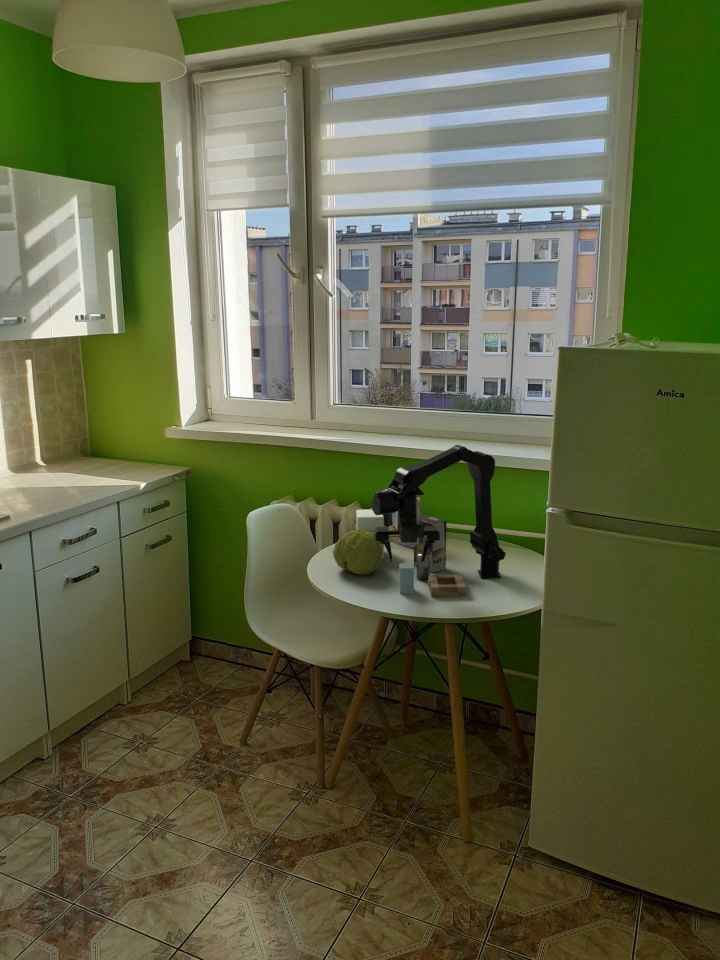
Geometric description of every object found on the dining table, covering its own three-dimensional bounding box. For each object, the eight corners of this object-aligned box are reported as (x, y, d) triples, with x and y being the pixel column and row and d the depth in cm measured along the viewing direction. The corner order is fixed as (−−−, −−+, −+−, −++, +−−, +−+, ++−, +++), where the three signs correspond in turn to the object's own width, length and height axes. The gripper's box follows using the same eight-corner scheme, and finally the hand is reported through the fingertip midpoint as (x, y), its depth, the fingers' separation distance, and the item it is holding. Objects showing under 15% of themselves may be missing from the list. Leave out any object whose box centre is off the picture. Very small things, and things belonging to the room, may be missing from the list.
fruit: (324, 576, 243) (322, 529, 246) (352, 580, 254) (350, 535, 258) (366, 570, 233) (363, 521, 237) (392, 574, 244) (390, 527, 248)
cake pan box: (377, 536, 281) (377, 489, 277) (387, 533, 284) (387, 487, 280) (412, 550, 267) (412, 500, 262) (423, 547, 270) (423, 498, 265)
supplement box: (356, 551, 266) (355, 509, 262) (382, 550, 266) (382, 508, 263) (357, 560, 257) (356, 517, 253) (384, 559, 257) (384, 516, 254)
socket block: (428, 584, 236) (428, 575, 235) (460, 583, 236) (461, 574, 235) (431, 597, 226) (431, 587, 225) (465, 596, 226) (465, 587, 225)
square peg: (399, 588, 233) (399, 563, 231) (412, 588, 233) (412, 563, 231) (400, 593, 229) (400, 568, 227) (413, 593, 229) (413, 568, 227)
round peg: (415, 576, 243) (416, 552, 241) (429, 575, 243) (429, 551, 241) (417, 581, 238) (417, 556, 237) (430, 580, 239) (431, 556, 237)
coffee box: (446, 568, 249) (447, 520, 245) (432, 573, 245) (433, 524, 241) (427, 561, 256) (427, 514, 252) (412, 565, 252) (413, 518, 248)
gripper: (376, 519, 217) (376, 571, 221) (442, 518, 217) (441, 570, 221) (374, 508, 228) (375, 558, 231) (438, 507, 228) (437, 557, 232)
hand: (407, 561), depth 228 cm, fingers open, 9 cm apart
